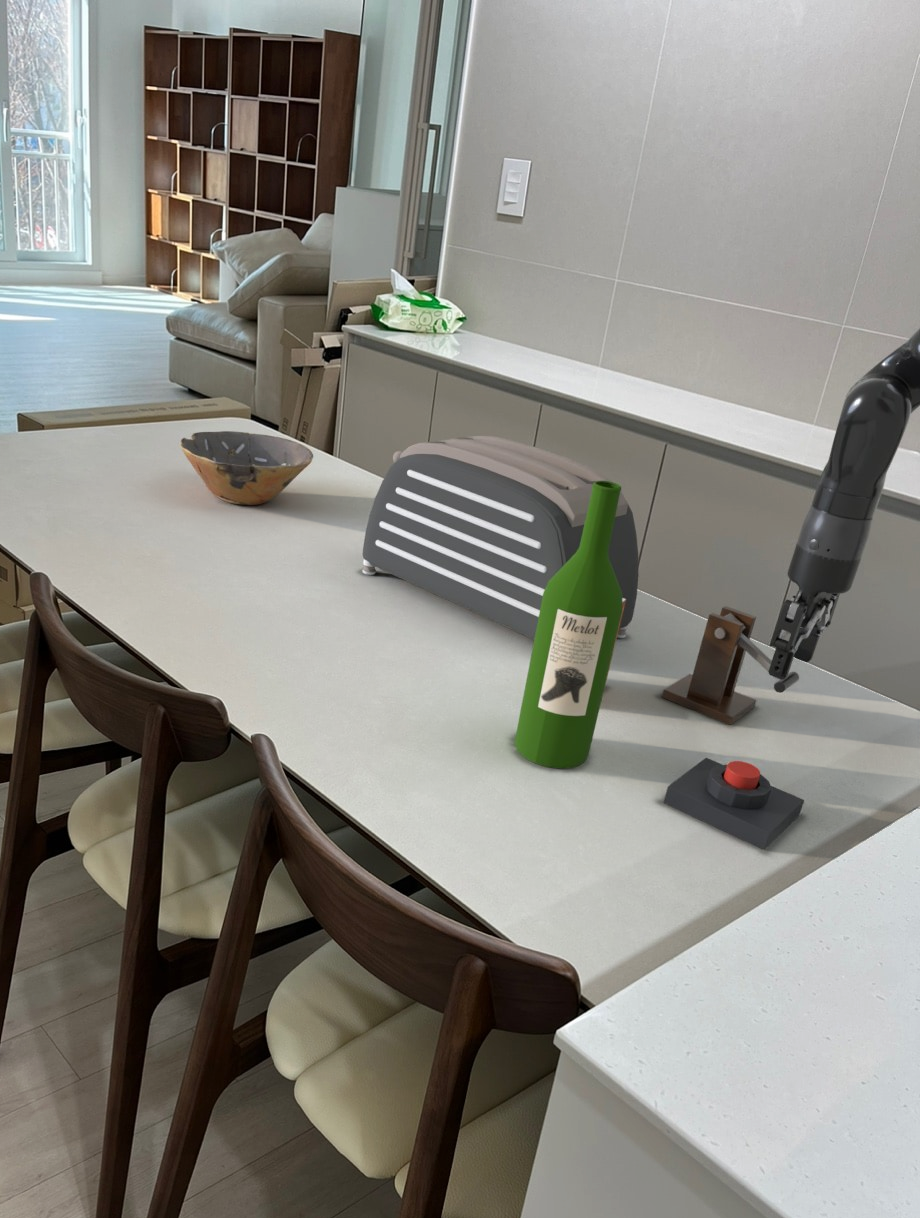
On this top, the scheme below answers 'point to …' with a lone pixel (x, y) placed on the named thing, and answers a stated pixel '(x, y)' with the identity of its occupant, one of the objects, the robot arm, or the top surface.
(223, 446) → the bowl
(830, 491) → the robot arm
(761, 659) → the lever
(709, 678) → the bracket
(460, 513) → the toaster
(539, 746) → the wine bottle
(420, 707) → the top surface
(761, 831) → the control block
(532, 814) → the top surface
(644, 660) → the top surface
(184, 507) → the top surface
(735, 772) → the button
